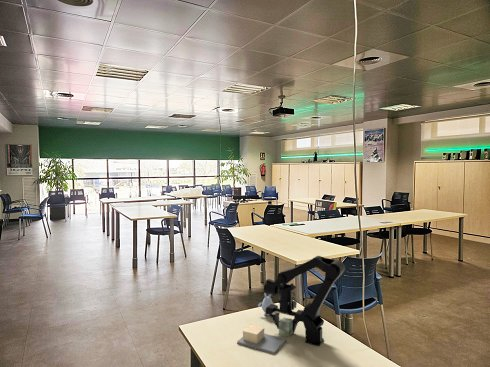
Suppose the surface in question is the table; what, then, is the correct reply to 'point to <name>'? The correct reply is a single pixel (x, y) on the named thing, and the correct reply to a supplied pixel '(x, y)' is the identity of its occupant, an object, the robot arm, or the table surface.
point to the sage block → (285, 327)
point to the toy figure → (266, 303)
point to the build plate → (260, 340)
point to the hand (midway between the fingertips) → (286, 330)
